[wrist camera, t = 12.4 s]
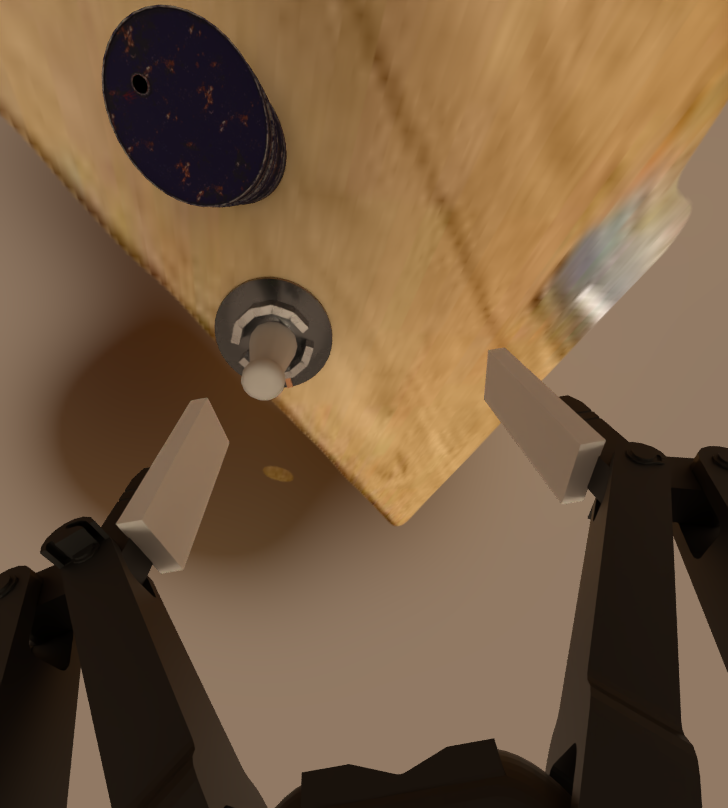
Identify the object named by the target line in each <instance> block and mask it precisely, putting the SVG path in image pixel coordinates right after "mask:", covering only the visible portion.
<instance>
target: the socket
mask: <svg viewBox="0 0 728 808" xmlns="http://www.w3.org/2000/svg"><path fill="white" fill-rule="evenodd" d="M266 322H279V323H281V324H283V325H285V326H287V327H288V328H289V329H290V330H291V331H292V332H293V334H294V335H295V338H296V343H297V349H296V353H295V356H294V358H293V359H292V361H291V363H290V364H289V366H288V367H287V369H286V371H285V372H284V374H285V378H286V380H285V385H284V387H287V388H289V387H293V386H295V385H298V384H301V383H304V382H306V381H307V380H309V379H311V378H312V377H314V376H315V375H316V374H317V373H318V372H319V371H320V370H321V369H322V367H323V366H324V365H325V363H326V361H327V359H328V357H329V355H330V351H331V346H332V330H331V324H330V321H329V318H328V315H327V313H326V311H325V310H324V308H323V306H322V305H321V303H320V302H319V301H318V300H317V299H316V298H315V297H314V296H313V295H312V294H311V293H310V292H309V291H308V290H306V289H305V288H303V287H301V286H300V285H298V284H296V283H294V282H291V281H288V280H285V279H280V278H273V277H264V278H257V279H253V280H249V281H247V282H245V283H242V284H241V285H239V286H237V287H236V288H235V289H233V290H232V291H231V292H230V293H229V294H228V295H227V297H226V298H225V299H224V300H223V302H222V303H221V305H220V307H219V309H218V312H217V315H216V319H215V336H216V341H217V344H218V347H219V350H220V352H221V354H222V356H223V357H224V358H225V360H226V361H227V363H228V364H229V365H230V366H231V367H232V368H233V369H234V370H235V371H236V372H237V373H239V374H240V375H241V376H242V373H243V370H244V368H245V367H246V366H247V365H248V363H249V362H250V354H249V342H250V337H251V333H252V332H253V331H254V330H255V328H256V327H257V326H258V325H260V324H263V323H266Z"/></svg>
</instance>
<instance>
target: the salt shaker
mask: <svg viewBox="0 0 728 808" xmlns="http://www.w3.org/2000/svg"><path fill="white" fill-rule="evenodd" d="M296 349H297V343H296V338H295V335H294V334H293V332H292V331H291V330H290V329H289V328H288V327H287V326H285V325H283V324H281V323H279V322H266V323H263V324H260V325H258V326H257V327H256V328H255V330H254V331H253V332H252V333H251V337H250V342H249V354H250V362H249V363H248V365H247V366H246V367H245V368H244V370H243V373H242V378H241V383H242V386H243V388H244V390H245V391H246V392H247V393H248V394H249V395H250V396H251V397H253V398H256V399H258V400H270V399H273V398H276V397H277V396H278V395H279V394H280V393H281V392H282V391H283V389H284V385H285V380H286V378H285V374H284V372H285V371H286V369H287V367H288V366H289V364H290V363H291V361H292V359H293V358H294V356H295V353H296Z"/></svg>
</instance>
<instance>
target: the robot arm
mask: <svg viewBox="0 0 728 808" xmlns="http://www.w3.org/2000/svg"><path fill="white" fill-rule="evenodd" d="M484 400H485V401H486V403H487V404H488V405H489V407H490V408H491V409H492V411H493V412H494V413H495V415H496V416H497V418H498V419H499V420H500V422H501V423H502V424H503V425H504V427H505V428H506V430H507V431H508V432H509V434H510V435H511V436H512V438H513V439H514V441H515V442H516V443H517V445H518V446H519V447H520V448H521V450H522V451H523V453H524V454H525V456H526V457H527V458H528V460H529V461H530V462H531V464H532V465H533V466H534V468H535V469H536V470H537V472H538V473H539V474H540V476H541V477H542V478H543V480H544V481H545V482H546V484H547V485H548V487H549V488H550V489H551V491H552V492H553V493H554V495H555V496H556V497H557V499H558V500H559V502H560V503H561V504H566V503H572V502H578V501H583V500H584V497H585V495H586V492H587V490H588V489H589V490H590V491H591V493H592V494H593V495H594V496H595V497H596V498H595V501H594V504H593V506H592V509H591V511H590V514H589V516H588V519H591V521H590V527H589V533H588V539H587V545H586V551H585V557H584V564H583V569H582V575H581V581H580V588H579V593H578V600H577V606H576V612H575V618H574V624H573V630H572V636H571V643H570V649H569V654H568V660H567V666H566V672H565V678H564V685H563V691H562V697H561V704H560V709H559V714H558V719H557V723H556V726H555V729H554V732H553V736H552V740H551V744H550V749H549V754H548V759H547V765H546V771H545V772H544V771H543V770H542V769H540V768H539V767H537V766H536V765H534V764H533V763H531V762H529V761H527V760H526V759H524V758H522V757H520V756H518V755H515V754H512V753H510V752H507V751H503V750H499V749H497V746H496V743H495V740H494V739H488V740H482V741H477V742H471V743H466V744H460V745H454V746H449V747H446V748H444V749H443V750H441V751H439V752H438V753H437V754H435V755H433V756H432V757H430V758H428V759H426V760H425V761H423V762H422V763H420V764H418V765H417V766H415V767H413V768H412V769H410V770H409V771H407V772H405V773H403V774H392V773H387V772H383V771H378V770H374V769H369V768H364V767H360V766H355V765H350V764H347V765H342V766H337V767H331V768H325V769H319V770H314V771H308V772H302V782H301V786H299V787H298V788H296V789H295V790H294V791H292V792H291V793H290V794H289V795H287V796H286V797H285V798H284V799H283V800H282V801H281V802H280V803H279V804H278V805H277V806H276V807H275V808H702V800H701V784H700V774H699V766H698V760H697V756H696V753H695V750H694V747H693V745H692V744H691V743H690V742H689V740H688V739H687V738H686V737H685V735H684V733H683V730H682V723H681V707H680V685H679V662H678V638H677V616H676V593H675V570H674V548H673V536H674V539H675V541H676V544H677V546H678V549H679V551H680V554H681V556H682V559H683V561H684V564H685V566H686V569H687V571H688V574H689V576H690V579H691V581H692V584H693V586H694V589H695V591H696V594H697V596H698V599H699V601H700V604H701V606H702V609H703V611H704V614H705V616H706V619H707V621H708V624H709V627H710V629H711V632H712V634H713V637H714V639H715V642H716V644H717V647H718V649H719V652H720V654H721V657H722V659H723V662H724V664H725V667H726V669H727V672H728V448H724V447H718V446H708V447H704V448H701V450H700V451H699V452H698V453H697V455H696V457H695V458H679V457H666V456H665V455H664V454H663V453H662V452H661V451H659V450H657V449H655V448H654V447H651V446H648V445H645V444H642V443H636V442H628V441H627V440H626V439H625V438H624V437H622V436H621V435H620V434H619V433H618V432H617V431H615V430H614V429H613V428H612V427H611V426H609V425H608V424H607V423H606V422H605V421H603V420H602V419H600V418H599V416H598V415H596V414H595V413H594V412H591V409H589V408H588V407H587V406H586V405H585V404H584V403H582V402H581V401H579V400H577V399H575V398H573V397H570V396H561V397H558V396H557V395H556V394H555V393H554V392H553V391H552V390H550V389H549V388H548V387H547V386H546V385H545V384H544V383H543V382H542V381H541V380H540V379H538V378H537V377H536V376H535V375H534V374H533V373H532V372H531V371H530V370H529V369H527V368H526V367H525V366H524V365H523V364H522V363H521V362H520V361H519V360H518V359H517V358H515V357H514V356H513V355H512V354H511V353H510V352H509V351H508V350H507V349H506V348H499V349H493V350H488V360H487V371H486V383H485V394H484ZM228 445H229V441H228V439H227V437H226V435H225V432H224V430H223V428H222V426H221V424H220V423H219V420H218V418H217V416H216V414H215V412H214V410H213V408H212V406H211V404H210V402H209V400H208V398H203V399H197V400H192V401H190V403H189V405H188V406H187V408H186V410H185V412H184V413H183V415H182V416H181V418H180V420H179V421H178V423H177V424H176V426H175V428H174V429H173V431H172V433H171V434H170V436H169V438H168V439H167V441H166V443H165V444H164V446H163V448H162V449H161V451H160V452H159V454H158V456H157V457H156V459H155V461H154V462H153V464H152V466H151V467H149V468H144V469H143V470H141V471H140V473H138V474H137V475H136V476H135V477H134V478H133V479H132V480H131V482H130V484H129V485H128V486H127V488H126V489H125V492H124V493H123V494H122V496H121V497H120V499H119V502H117V503H116V505H115V506H114V508H113V510H112V511H111V513H110V514H109V516H108V517H107V519H106V520H105V522H104V523H103V525H102V527H100V526H99V525H98V524H97V523H96V522H95V521H94V520H93V519H92V518H91V517H81V518H77V519H74V520H72V521H69V522H67V523H65V524H64V525H62V526H61V527H59V528H58V529H57V530H55V531H54V532H53V533H52V534H51V535H50V536H49V537H48V538H47V539H46V540H45V542H44V543H43V545H42V547H41V551H40V553H41V554H42V555H43V556H44V557H46V558H47V559H48V560H49V561H50V562H52V563H53V564H54V566H51V567H49V568H47V569H44V570H42V571H40V572H37V573H35V572H34V571H33V570H31V569H30V568H29V567H27V566H17V567H14V568H11V569H8V570H7V571H5V572H3V573H1V574H0V808H67V797H68V788H69V777H70V768H71V758H72V748H73V738H74V729H75V719H76V709H77V699H78V688H79V679H80V669H82V673H83V678H84V683H85V687H86V692H87V697H88V701H89V705H90V710H91V715H92V720H93V724H94V729H95V733H96V738H97V742H98V747H99V752H100V756H101V761H102V766H103V770H104V775H105V779H106V784H107V789H108V793H109V798H110V802H111V807H112V808H267V806H266V804H265V802H264V800H263V798H262V797H261V795H260V793H259V792H258V790H257V789H256V787H255V786H254V785H253V783H252V782H251V781H250V779H249V778H248V777H247V775H246V774H245V772H244V770H243V768H242V766H241V764H240V762H239V760H238V758H237V756H236V754H235V752H234V750H233V748H232V746H231V743H230V741H229V739H228V737H227V735H226V733H225V731H224V729H223V727H222V725H221V723H220V720H219V718H218V716H217V714H216V712H215V710H214V708H213V706H212V704H211V702H210V700H209V698H208V695H207V694H206V691H205V689H204V687H203V685H202V683H201V681H200V679H199V677H198V675H197V673H196V671H195V669H194V666H193V664H192V662H191V660H190V658H189V656H188V654H187V652H186V650H185V648H184V645H183V643H182V641H181V639H180V637H179V635H178V633H177V631H176V629H175V627H174V625H173V623H172V620H171V619H170V616H169V615H168V612H167V610H166V608H165V606H164V604H163V602H162V600H161V598H160V595H159V594H158V592H157V589H156V587H155V585H154V583H153V581H152V580H151V579H150V578H149V577H148V573H149V571H150V569H151V566H152V564H153V565H154V566H155V567H156V569H157V570H158V571H160V573H161V574H162V573H167V572H173V571H179V570H183V569H184V566H185V564H186V561H187V558H188V555H189V553H190V550H191V547H192V544H193V542H194V539H195V536H196V533H197V530H198V528H199V525H200V522H201V519H202V517H203V514H204V511H205V509H206V506H207V503H208V500H209V498H210V495H211V492H212V489H213V486H214V484H215V481H216V478H217V476H218V473H219V470H220V467H221V464H222V461H223V459H224V456H225V453H226V451H227V448H228Z"/></svg>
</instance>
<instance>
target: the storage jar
mask: <svg viewBox="0 0 728 808" xmlns="http://www.w3.org/2000/svg"><path fill="white" fill-rule="evenodd" d="M102 90H103V96H104V102H105V107H106V111H107V114H108V117H109V120H110V124H111V126H112V128H113V130H114V133H115V135H116V137H117V139H118V141H119V143H120V145H121V146H122V148H123V150H124V152H125V153H126V155H127V156H128V157H129V159H130V160H131V162H132V163H133V164H134V166H135V167H136V168H137V169H138V170H139V171H140V172H141V173H142V174H143V176H144V177H145V178H146V179H148V180H149V181H150V182H151V183H152V184H153V185H154V186H156V187H157V188H158V189H160V190H161V191H163V192H164V193H166V194H167V195H169V196H171V197H173V198H175V199H177V200H179V201H182V202H184V203H187V204H190V205H195V206H201V207H230V206H236V205H240V204H242V205H244V204H250V203H255V202H257V201H260V200H262V199H264V198H265V197H267V196H269V195H270V194H271V193H272V192H273V191H274V190H275V189H276V187H277V186H278V185H279V183H280V181H281V179H282V177H283V174H284V171H285V166H286V154H287V152H286V143H285V138H284V134H283V130H282V127H281V124H280V121H279V119H278V117H277V115H276V113H275V111H274V109H273V107H272V105H271V104H270V102H269V100H268V98H267V96H266V94H265V92H264V90H263V88H262V86H261V84H260V82H259V80H258V79H257V77H256V75H255V74H254V72H253V71H252V69H251V68H250V66H249V65H248V63H247V62H246V61H245V59H244V58H243V56H242V54H241V53H240V51H239V50H238V49H237V48H236V47H235V45H234V44H233V43H232V42H231V41H230V39H229V38H228V37H227V36H226V35H225V34H223V33H222V32H221V31H220V30H219V29H218V28H217V27H216V26H215V25H213V24H212V23H210V22H209V21H207V20H206V19H205V18H203V17H201V16H199V15H197V14H195V13H193V12H191V11H189V10H187V9H183V8H179V7H176V6H170V5H154V6H148V7H144V8H141V9H139V10H137V11H134V12H132V13H131V14H130V15H129V16H127V17H126V18H125V19H123V20H122V21H121V23H120V24H119V25H118V26H117V28H116V29H115V30H114V32H113V34H112V36H111V38H110V40H109V42H108V44H107V47H106V51H105V54H104V58H103V67H102Z"/></svg>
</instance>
